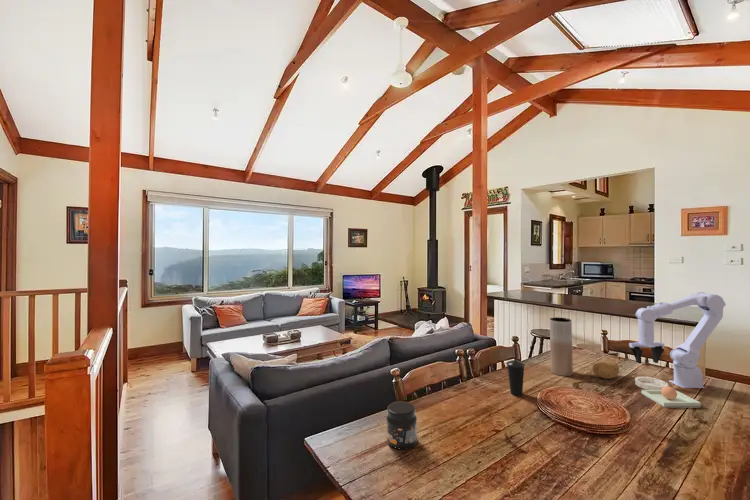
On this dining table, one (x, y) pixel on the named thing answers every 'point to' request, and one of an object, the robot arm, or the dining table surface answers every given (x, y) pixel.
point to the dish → (650, 383)
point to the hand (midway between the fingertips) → (647, 362)
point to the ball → (669, 392)
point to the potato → (606, 369)
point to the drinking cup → (516, 376)
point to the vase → (561, 346)
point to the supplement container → (401, 425)
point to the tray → (671, 400)
